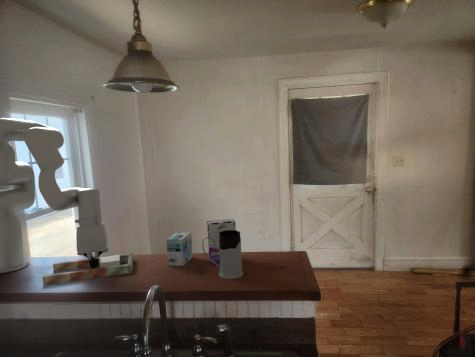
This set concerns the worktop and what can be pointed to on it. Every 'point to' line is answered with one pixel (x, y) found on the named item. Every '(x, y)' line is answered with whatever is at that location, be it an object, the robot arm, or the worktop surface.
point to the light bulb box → (179, 249)
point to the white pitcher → (229, 254)
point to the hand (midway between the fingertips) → (94, 268)
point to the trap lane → (87, 273)
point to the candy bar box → (217, 236)
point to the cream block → (109, 261)
